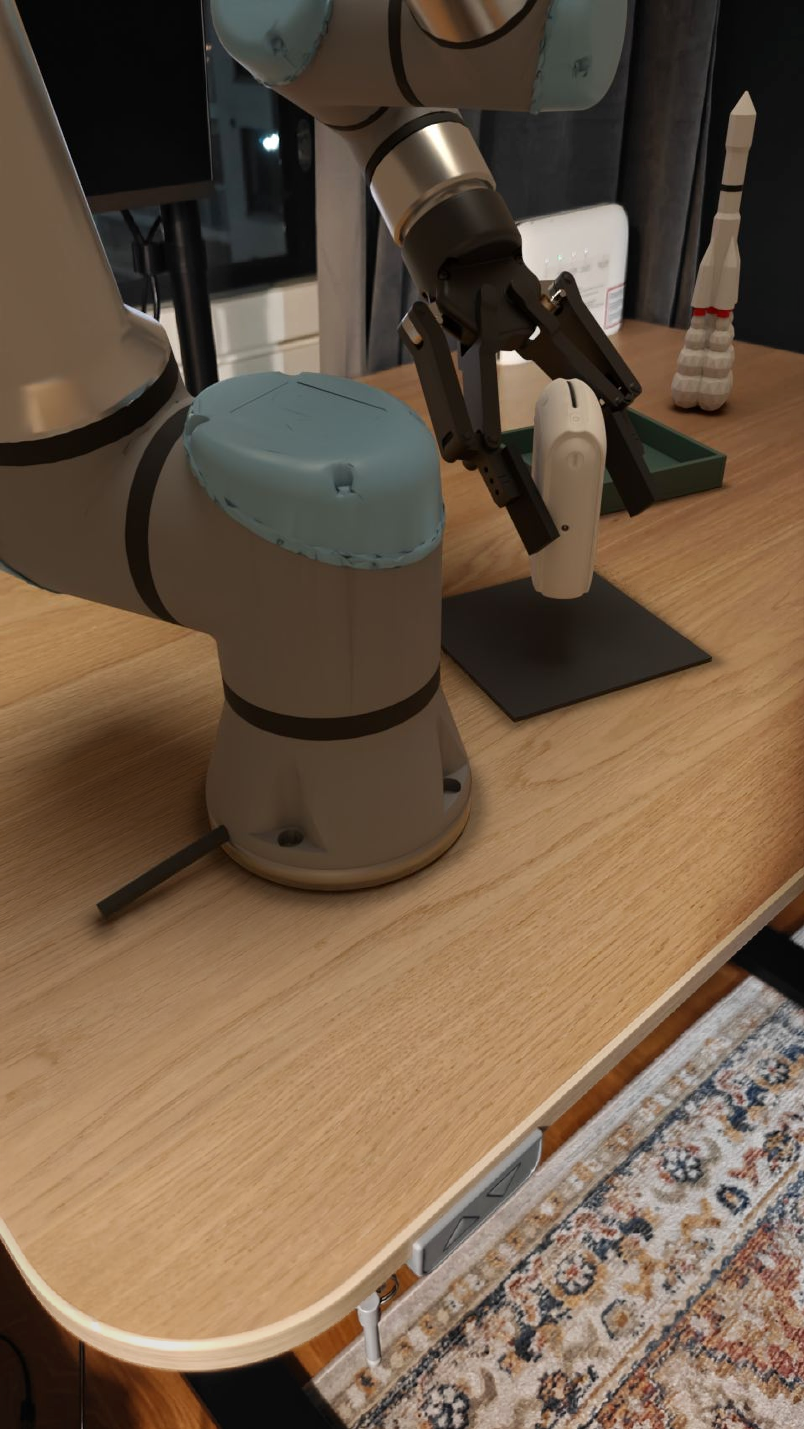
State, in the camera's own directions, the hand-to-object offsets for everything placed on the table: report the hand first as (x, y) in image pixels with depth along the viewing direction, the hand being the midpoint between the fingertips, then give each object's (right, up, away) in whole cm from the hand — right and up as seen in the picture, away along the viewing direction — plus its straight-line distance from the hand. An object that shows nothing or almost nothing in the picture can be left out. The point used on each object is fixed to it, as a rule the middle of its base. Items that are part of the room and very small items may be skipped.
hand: (597, 526), depth 66 cm
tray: (+6, +11, +32) cm, 34 cm away
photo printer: (-2, -2, +5) cm, 5 cm away
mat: (-2, -7, +8) cm, 10 cm away
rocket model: (+20, +22, +47) cm, 56 cm away
